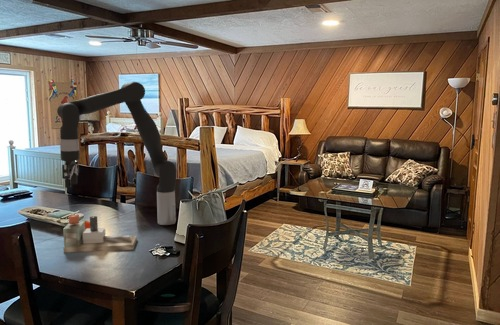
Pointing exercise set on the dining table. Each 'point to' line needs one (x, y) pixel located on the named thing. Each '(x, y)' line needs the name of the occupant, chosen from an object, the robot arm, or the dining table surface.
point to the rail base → (76, 244)
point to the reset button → (74, 219)
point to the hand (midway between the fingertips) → (71, 185)
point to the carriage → (93, 232)
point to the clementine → (87, 224)
